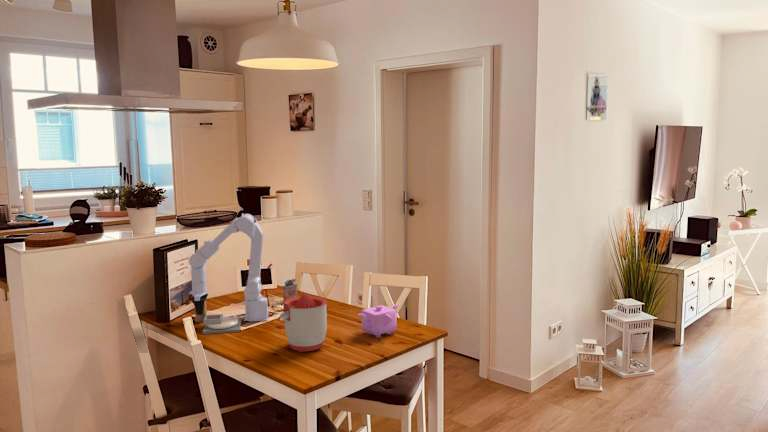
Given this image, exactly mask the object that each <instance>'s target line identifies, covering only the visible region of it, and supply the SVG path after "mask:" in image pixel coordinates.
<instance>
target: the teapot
mask: <svg viewBox="0 0 768 432" xmlns="http://www.w3.org/2000/svg"><path fill="white" fill-rule="evenodd" d="M398 307H400V304H395V305H393V307H389V306H386V305H375V306H373V307H369V308H366V309H361V313H358V314H357V316H360V317H361V330H362V331H363V332H366V334H367V335H372V336H374V337H375V338H382V335H383V334H386V335H392V332H394V331H398V328H397V327H398V325H397V324H398V323H397V319H398V318H397V308H398Z"/></svg>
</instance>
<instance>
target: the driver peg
mask: <svg viewBox="0 0 768 432" xmlns="http://www.w3.org/2000/svg"><path fill="white" fill-rule="evenodd" d="M206 315H208V314H207V299H206V300H205V302H204V308H203V314H202V315H197V313H196V309H195V308H194V317H195V320H194V321H195V323H204V318H205V316H206Z"/></svg>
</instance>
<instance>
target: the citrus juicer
mask: <svg viewBox="0 0 768 432" xmlns="http://www.w3.org/2000/svg"><path fill="white" fill-rule="evenodd" d="M327 303H328V301H327V299H326V298H324V297H321V296H315V295H309V294H307V293H303V294H302V295H301V296H297V297H294V298H290V299H288V300H286V301H284V302H283V303H282V305H283V312H282V313H281V314H279V320H280V321H282V322H283V321H284V328H285V329H284V331H285V334H286V335H285V336H286V338H287V343H288V346H289V347H290V348H291V349H292V350H293V351H297V352H300V353H304V352H311V351H316V350H319V349H321V348H322V347H323V345H324V343H325V338H326V335H327V329H328V324H327V323H328V320H327V319H328V318H327V314H328V313H327V312H328V311H327Z"/></svg>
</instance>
